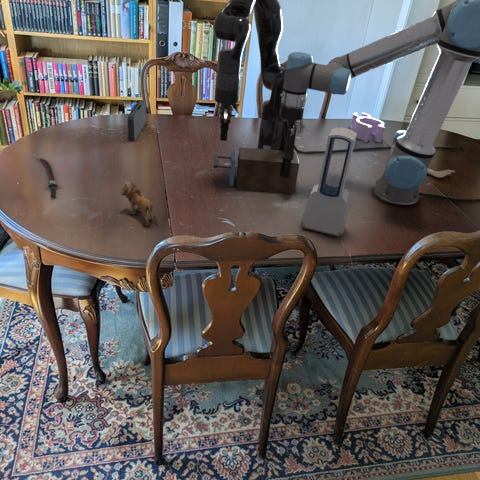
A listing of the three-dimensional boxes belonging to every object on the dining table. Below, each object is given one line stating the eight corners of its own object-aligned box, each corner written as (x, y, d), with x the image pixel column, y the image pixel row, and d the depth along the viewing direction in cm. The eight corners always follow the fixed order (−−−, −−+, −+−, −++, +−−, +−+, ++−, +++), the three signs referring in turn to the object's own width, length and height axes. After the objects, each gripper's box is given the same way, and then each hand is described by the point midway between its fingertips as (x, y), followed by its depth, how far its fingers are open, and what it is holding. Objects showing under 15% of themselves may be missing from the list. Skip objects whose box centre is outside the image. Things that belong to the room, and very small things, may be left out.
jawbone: (446, 183, 178) (448, 178, 177) (396, 166, 188) (397, 162, 187) (454, 175, 183) (456, 170, 182) (405, 159, 194) (406, 154, 193)
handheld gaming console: (139, 121, 202) (139, 98, 197) (146, 122, 202) (145, 99, 197) (127, 140, 183) (126, 115, 178) (134, 141, 183) (133, 116, 178)
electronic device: (344, 227, 141) (368, 132, 125) (340, 239, 135) (365, 141, 119) (304, 217, 144) (322, 123, 128) (299, 229, 138) (317, 131, 122)
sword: (61, 197, 141) (61, 193, 140) (50, 198, 139) (50, 194, 139) (49, 160, 164) (48, 156, 163) (39, 160, 163) (39, 157, 162)
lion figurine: (118, 210, 138) (116, 182, 133) (132, 204, 141) (131, 177, 137) (151, 229, 130) (150, 201, 126) (165, 223, 134) (165, 195, 129)
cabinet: (236, 189, 157) (239, 158, 151) (236, 176, 165) (239, 147, 159) (294, 193, 158) (299, 163, 152) (291, 180, 166) (295, 151, 160)
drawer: (212, 184, 156) (213, 159, 151) (212, 173, 164) (214, 148, 159) (283, 189, 158) (287, 164, 153) (281, 178, 165) (285, 154, 160)
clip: (343, 126, 223) (346, 112, 219) (367, 127, 225) (371, 113, 221) (360, 142, 206) (364, 127, 202) (386, 142, 209) (390, 127, 205)
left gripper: (215, 79, 148) (212, 131, 158) (214, 91, 137) (211, 146, 147) (239, 81, 149) (234, 133, 158) (240, 93, 138) (235, 148, 147)
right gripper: (277, 94, 156) (269, 155, 168) (284, 116, 137) (274, 183, 149) (299, 95, 157) (289, 157, 169) (309, 118, 137) (297, 185, 149)
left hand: (223, 139), depth 152 cm, fingers closed
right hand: (282, 169), depth 159 cm, fingers open, 10 cm apart
